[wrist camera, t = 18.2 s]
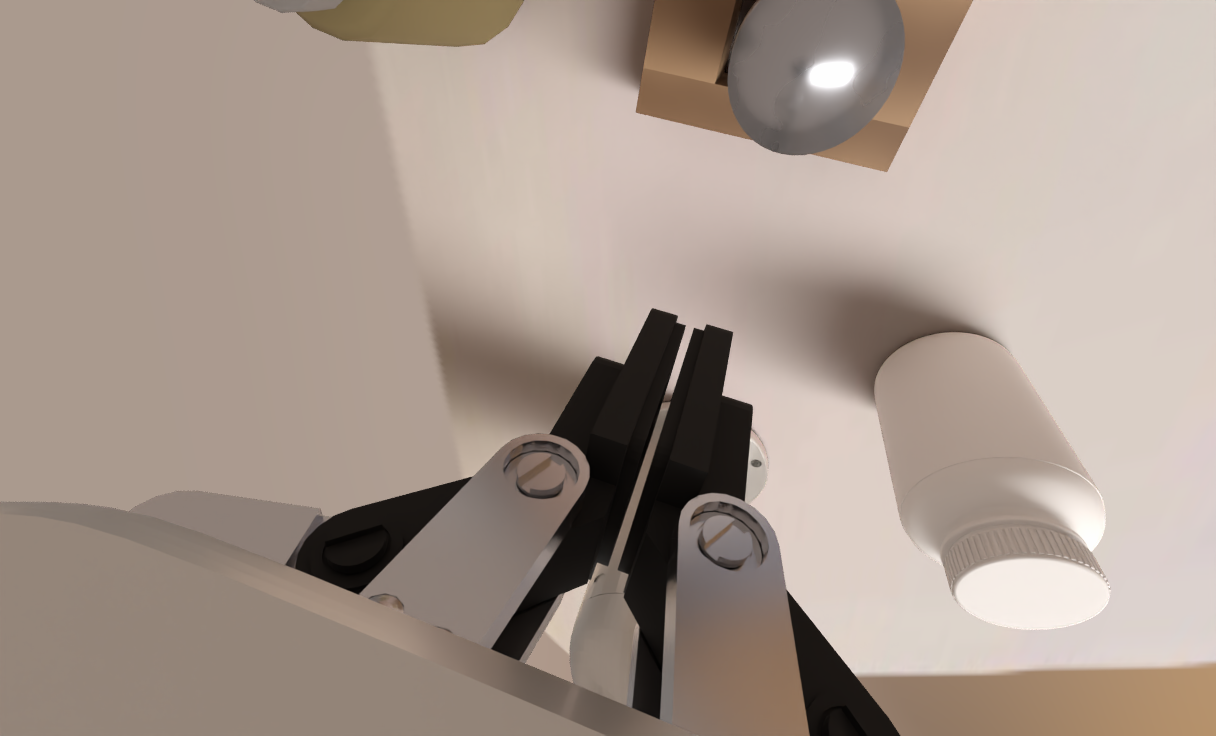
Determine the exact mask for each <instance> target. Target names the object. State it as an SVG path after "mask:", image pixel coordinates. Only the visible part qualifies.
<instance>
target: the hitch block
mask: <svg viewBox="0 0 1216 736" xmlns="http://www.w3.org/2000/svg"><path fill="white" fill-rule="evenodd" d="M895 1H896V3H897V5H898V7H899V9H900V12H901V16H902V20H903V24H904V32H905V48H904V55H903V62H902V65H901V69H900V73H899V75H898V78H897V81H896V83H895V86H894V88H893V89H892V91H891V93H890V95H889V97H888V99H887V100H886V102H885V103H884V105H883V106H882V108H881V109H880V110H879V112H878V113H877V114H876V115H875V116H874V118H873V119H872V120H871V121H870V122H869V123H868V124H867V125H866V126H865V127H864V128H862V129H861V130H860V131H859V132H858V133H856V134H855V135H854V136H852V137H851V138H849V139H848V140H846V141H845V142H843V143H841V144H839V145H837V146H835V147H833V148H830V149H827V150H825V151H821V152H817V153H814V154H813V155H817V156H821V157H825V158H830V159H834V160H838V161H842V162H846V163H851V164H855V165H859V166H863V167H868V168H872V169H876V170H880V171H884V172H887V171H888V169H889V167H890V165H891V163H892V161H893V159H894V157H895V155H896V153H897V151H898V149H899V147H900V145H901V143H902V141H903V139H904V137H905V135H906V133H907V131H908V129H909V127H910V125H911V123H912V121H913V119H914V117H915V115H916V113H917V111H918V109H919V107H920V105H921V103H922V101H923V99H924V97H925V95H926V93H927V91H928V89H929V87H930V85H931V83H932V81H933V79H934V77H935V75H936V73H937V71H938V69H939V67H940V65H941V63H942V61H943V59H944V57H945V55H946V53H947V51H948V49H949V47H950V45H951V43H952V41H953V39H954V37H955V35H956V33H957V31H958V29H959V27H960V25H961V23H962V21H963V19H964V17H965V15H966V13H967V11H968V9H969V7H970V5H971V3H972V1H973V0H895ZM742 3H743V0H655V1H654V7H653V13H652V19H651V24H650V30H649V36H648V42H647V48H646V54H645V60H644V66H643V72H642V78H641V84H640V90H639V96H638V102H637V108H636V113H640V114H644V115H649V116H653V117H657V118H661V119H665V120H670V121H674V122H678V123H682V124H687V125H691V126H695V127H699V128H703V129H708V130H712V131H716V132H720V133H724V134H729V135H733V136H737V137H741V138H745V139H750V140H753V139H751V138H750V137H749V136H748V135H747V134H746V133H745V131H744V130H743V129H742V128H741V126H740V125H739V123H738V121H737V119H736V117H735V115H734V113H733V110H732V107H731V104H730V99H729V94H728V73H724V72H725V68H726V64H727V60H728V57H729V53H730V49H731V45H732V41H733V37H734V34H735V30H736V26H737V22H738V18H739V15H740V11H741V7H742Z"/></svg>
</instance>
